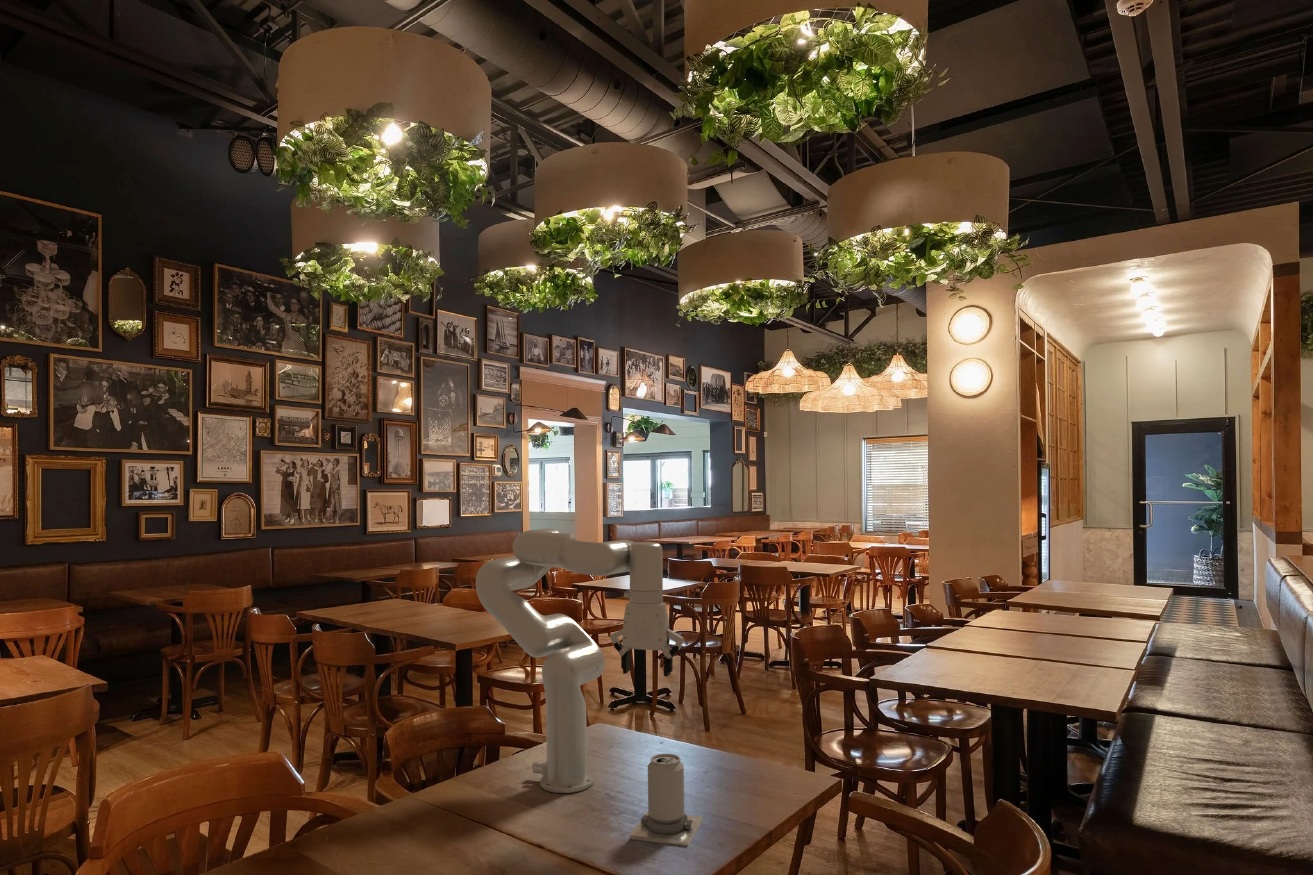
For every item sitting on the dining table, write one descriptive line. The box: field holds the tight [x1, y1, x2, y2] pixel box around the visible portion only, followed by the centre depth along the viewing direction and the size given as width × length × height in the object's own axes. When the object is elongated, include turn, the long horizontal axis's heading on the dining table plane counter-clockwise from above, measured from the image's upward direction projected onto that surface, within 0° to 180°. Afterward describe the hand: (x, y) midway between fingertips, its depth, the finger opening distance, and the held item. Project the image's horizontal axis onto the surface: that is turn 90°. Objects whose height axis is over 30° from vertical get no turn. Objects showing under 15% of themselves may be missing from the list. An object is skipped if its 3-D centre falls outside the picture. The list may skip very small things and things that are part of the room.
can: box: [647, 753, 686, 823], centre depth 162 cm, size 8×8×12 cm
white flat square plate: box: [629, 811, 703, 847], centre depth 162 cm, size 12×12×2 cm
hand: (646, 673), depth 178 cm, fingers open, 9 cm apart
